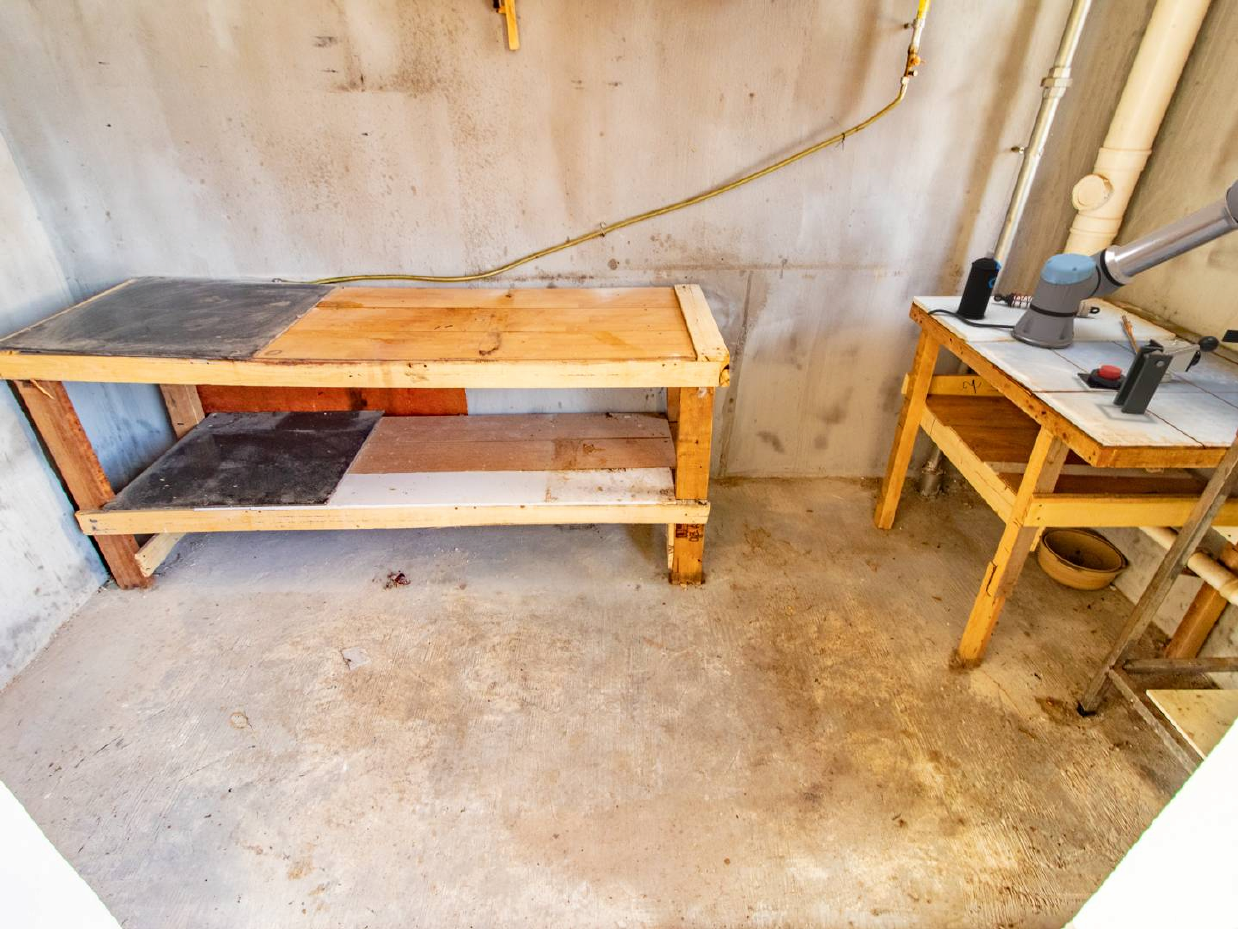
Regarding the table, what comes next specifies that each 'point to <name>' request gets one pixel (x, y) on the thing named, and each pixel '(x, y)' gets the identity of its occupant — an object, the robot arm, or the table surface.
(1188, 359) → the pneumatic valve
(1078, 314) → the shock absorber
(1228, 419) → the table surface
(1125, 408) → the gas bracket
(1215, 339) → the lever
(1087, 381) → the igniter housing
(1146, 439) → the table surface
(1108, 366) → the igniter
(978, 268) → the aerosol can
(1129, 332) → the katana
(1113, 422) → the table surface
